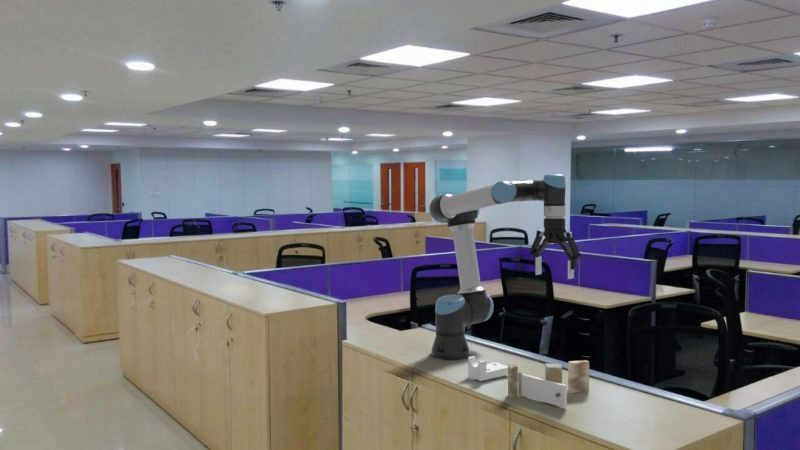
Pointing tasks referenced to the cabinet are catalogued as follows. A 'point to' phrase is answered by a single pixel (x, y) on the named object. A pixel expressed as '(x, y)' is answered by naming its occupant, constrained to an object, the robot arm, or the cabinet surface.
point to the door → (542, 390)
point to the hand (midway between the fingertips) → (554, 276)
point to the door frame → (576, 378)
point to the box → (553, 372)
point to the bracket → (485, 369)
